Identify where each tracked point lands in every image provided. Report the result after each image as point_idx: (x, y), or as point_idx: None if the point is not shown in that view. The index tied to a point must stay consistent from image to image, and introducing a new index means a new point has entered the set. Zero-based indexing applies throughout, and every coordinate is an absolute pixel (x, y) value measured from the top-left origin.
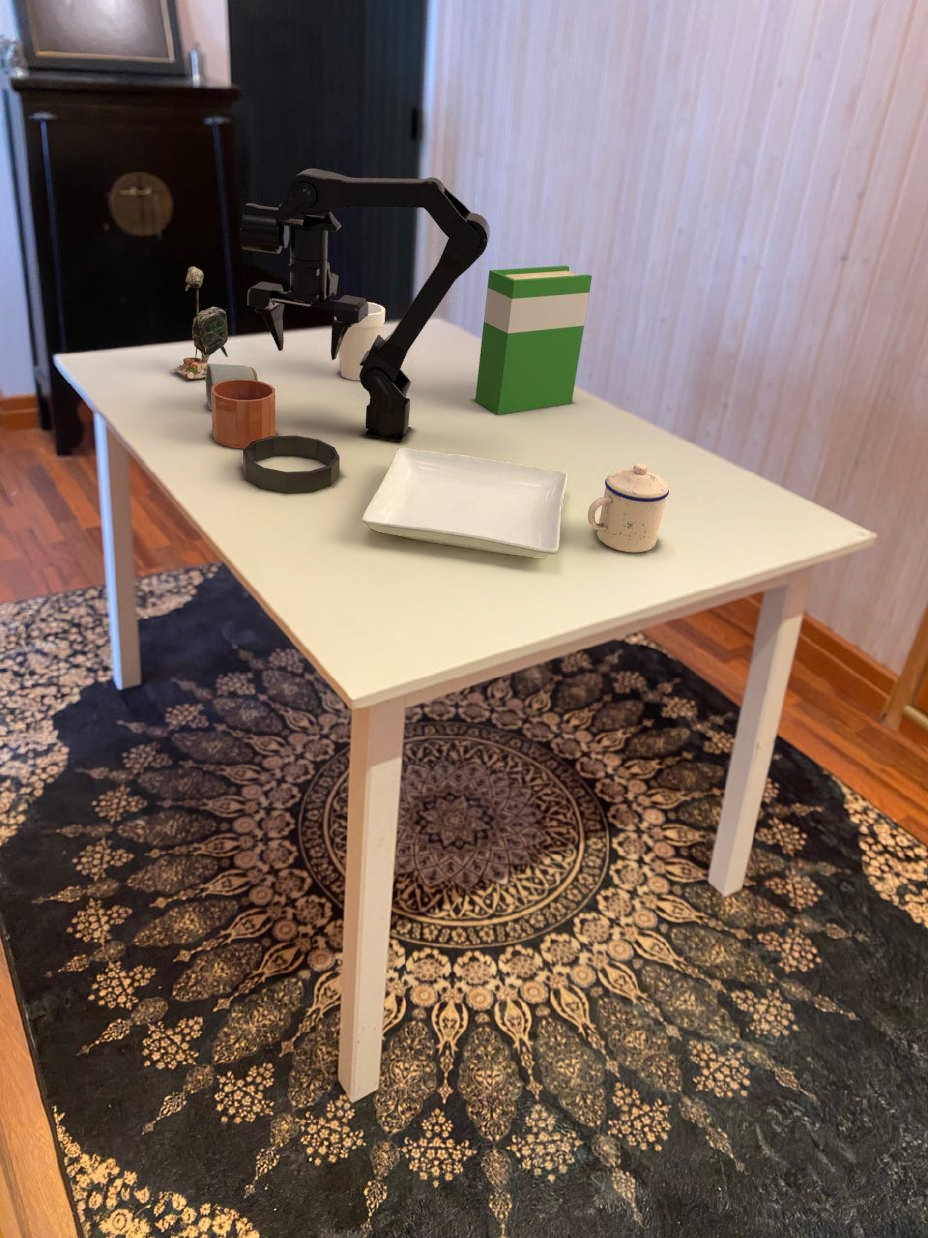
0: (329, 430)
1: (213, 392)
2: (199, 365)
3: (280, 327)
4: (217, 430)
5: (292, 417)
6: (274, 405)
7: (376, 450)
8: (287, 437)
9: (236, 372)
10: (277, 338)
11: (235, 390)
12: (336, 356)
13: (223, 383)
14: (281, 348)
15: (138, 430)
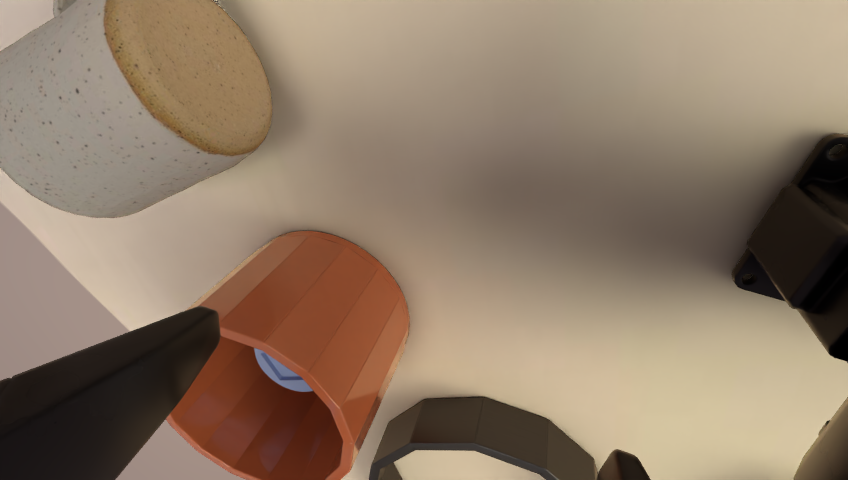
0: (579, 232)
1: (181, 434)
2: None
3: (52, 460)
4: None
5: (425, 131)
6: (371, 411)
7: (754, 376)
8: (451, 448)
9: (113, 166)
10: (141, 441)
11: None
12: (643, 472)
13: None
14: (211, 344)
15: (111, 290)
